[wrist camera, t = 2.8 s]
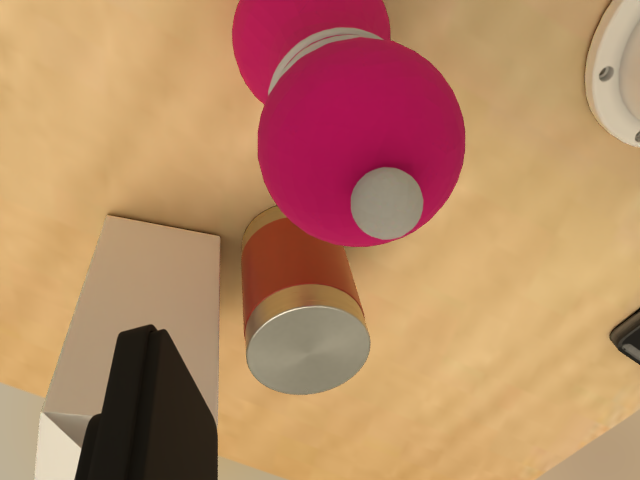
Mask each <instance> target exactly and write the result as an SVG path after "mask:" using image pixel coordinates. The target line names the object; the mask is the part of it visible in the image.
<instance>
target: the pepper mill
mask: <svg viewBox="0 0 640 480" xmlns="http://www.w3.org/2000/svg"><path fill="white" fill-rule="evenodd" d="M232 41H233V49H234V54H235V58H236V61H237V64H238V67H239V70H240V73H241V75H242V77H243V79H244V81H245V83H246V85H247V86H248V87H249V89H250V90H251V91H252V93H253V94H254V96H255V97H257V98H258V99H259V100H260V101H261V102H262V103H263V104H264V105H265V106H264V108H263V111H262V114H261V118H260V123H259V128H258V160H259V164H260V168H261V172H262V175H263V179H264V182H265V185H266V187H267V189H268V191H269V193H270V195H271V197H272V198H273V200H274V201H275V203H276V204H277V206H278V207H279V209H280V210H281V212H282V213H283V214H284V215H285V216H286V217H287V218H288V219H289V220H290V221H291V222H292V223H293V224H295V225H296V226H298V227H299V228H300V229H302V230H303V231H305V232H306V233H307V234H309V235H311V236H313V237H315V238H317V239H320V240H323V241H326V242H329V243H332V244H335V245H342V246H350V247H368V246H374V245H380V244H385V243H388V242H391V241H394V240H397V239H400V238H402V237H405V236H407V235H409V234H410V233H412V232H414V231H416V230H417V229H419V228H420V227H421V226H423V225H424V224H425V223H427V222H428V221H429V220H430V219H431V218H432V217H433V216H434V215H435V214H436V213H437V212H438V210H439V209H440V208H441V207H442V206H443V205H444V203H445V202H446V201H447V199H448V198H449V196H450V194H451V193H452V191H453V189H454V187H455V185H456V183H457V181H458V178H459V175H460V172H461V169H462V165H463V160H464V153H465V127H464V121H463V116H462V113H461V110H460V106H459V104H458V101H457V99H456V97H455V94H454V92H453V90H452V89H451V87H450V86H449V84H448V83H447V82H446V80H445V79H444V77H443V76H442V74H441V73H440V72H439V71H438V70H437V69H436V68H435V67H434V66H433V65H432V64H431V63H430V62H429V61H428V60H426V59H425V58H424V57H422V56H421V55H419V54H418V53H416V52H415V51H413V50H411V49H409V48H407V47H405V46H403V45H400V44H398V43H396V42H394V41H390V24H389V18H388V15H387V11H386V8H385V5H384V3H383V1H382V0H240V1H239V3H238V6H237V9H236V12H235V15H234V21H233V28H232Z"/></svg>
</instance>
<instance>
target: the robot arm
mask: <svg viewBox="0 0 640 480" xmlns="http://www.w3.org/2000/svg"><path fill="white" fill-rule="evenodd" d="M585 89H586V97H587V100H588V103H589V107H590V110H591V112H592V114H593V115H594V117H595V118H596V120H597V122H598V123H599V124H600V125H601V126H602V127H603V128H604V129H605V130H606V131H607V132H609V133H610V134H611V135H613V136H614V137H616V138H617V139H619V140H620V141H622V142H624V143H626V144H629V145H631V146H634V147H639V148H640V0H613V1H612V2H611V4H610V5H609V7H608V8H607V10H606V11H605V13H604V14H603V16H602V19H601V21H600V23H599V25H598V27H597V29H596V31H595V34H594V36H593V39H592V42H591V46H590V49H589V52H588V56H587V61H586V70H585ZM217 459H218V435H217V427H216V423H215V420H214V417H213V415H212V413H211V411H210V409H209V408H208V406H207V404H206V402H205V400H204V398H203V396H202V394H201V393H200V391H199V389H198V387H197V385H196V383H195V381H194V380H193V378H192V376H191V374H190V372H189V370H188V368H187V366H186V365H185V363H184V361H183V359H182V357H181V355H180V353H179V352H178V350H177V348H176V346H175V344H174V342H173V340H172V338H171V337H170V335H169V333H168V331H167V330H166V329H161V330H157V329H156V327H155V326H154V325H153V324H149V325H145V326H141V327H137V328H134V329H130V330H126V331H122V332H120V333H119V334H118V337H117V341H116V345H115V350H114V355H113V360H112V364H111V369H110V374H109V379H108V383H107V388H106V393H105V398H104V402H103V407H102V412H101V413H100V414H96V415H94V416H93V417H92V418H91V419H90V420H89V422H88V425H87V428H86V432H85V436H84V440H83V444H82V449H81V453H80V457H79V462H78V466H77V470H76V475H75V479H74V480H218V479H217V477H218V472H217V471H218V470H217V468H218V460H217Z"/></svg>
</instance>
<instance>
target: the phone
mask: <svg viewBox="0 0 640 480" xmlns="http://www.w3.org/2000/svg"><path fill="white" fill-rule="evenodd" d="M610 340H611V341H612V342H613V344H614V345H615V346H616V347H617V349H618V350H619V351H620V352H622V353H623V354H625V355H626V356H628V357H629V358H631V359H632V360H633V361H635V362H636V363H638V364H639V365H640V310H639V311H638V312H636V313H635V314H634V315H632V316H631V317H630V318H629V319H627V320H626V321H625V322H623V323H622V324H621V325H619V326H618V327H617V328H616V329H615V330H613V332H612V333H611V336H610Z"/></svg>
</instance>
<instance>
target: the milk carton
mask: <svg viewBox="0 0 640 480" xmlns="http://www.w3.org/2000/svg"><path fill="white" fill-rule="evenodd" d="M219 304H220V236H216V235H211V234H206V233H201V232H195V231H190V230H185V229H179V228H174V227H169V226H164V225H158V224H153V223H148V222H142V221H137V220H132V219H126V218H121V217H116V216H110V215H107V216H106V218H105V221H104V224H103V227H102V230H101V233H100V236H99V239H98V242H97V245H96V248H95V251H94V254H93V257H92V260H91V263H90V266H89V269H88V272H87V275H86V278H85V281H84V284H83V287H82V290H81V293H80V296H79V299H78V302H77V305H76V308H75V311H74V314H73V317H72V320H71V323H70V326H69V329H68V332H67V335H66V338H65V341H64V344H63V347H62V350H61V353H60V356H59V359H58V362H57V365H56V368H55V371H54V374H53V377H52V380H51V383H50V386H49V389H48V392H47V395H46V398H45V402H44V404H43V407H42V410H41V414H40V421H39V431H38V443H37V455H36V465H35V477H34V480H74V479H75V475H76V470H77V466H78V462H79V457H80V453H81V449H82V444H83V440H84V436H85V432H86V428H87V425H88V422H89V420H90V419H91V418H92V417H93V416H94V415H96V414H100V413H101V412H102V407H103V402H104V398H105V393H106V388H107V383H108V379H109V374H110V369H111V364H112V360H113V355H114V350H115V345H116V341H117V337H118V334H119V333H120V332H122V331H126V330H130V329H134V328H137V327H141V326H145V325H149V324H153V325H154V326H155V327H156V329H157V330H161V329H166V330H167V331H168V333H169V335H170V337H171V338H172V340H173V342H174V344H175V346H176V348H177V350H178V352H179V353H180V355H181V357H182V359H183V361H184V363H185V365H186V366H187V368H188V370H189V372H190V374H191V376H192V378H193V380H194V381H195V383H196V385H197V387H198V389H199V391H200V393H201V394H202V396H203V398H204V400H205V402H206V404H207V406H208V408H209V409H210V411H211V413H212V415H213V417H214V420H215V423H216V427H217V425H218V377H219Z"/></svg>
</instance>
